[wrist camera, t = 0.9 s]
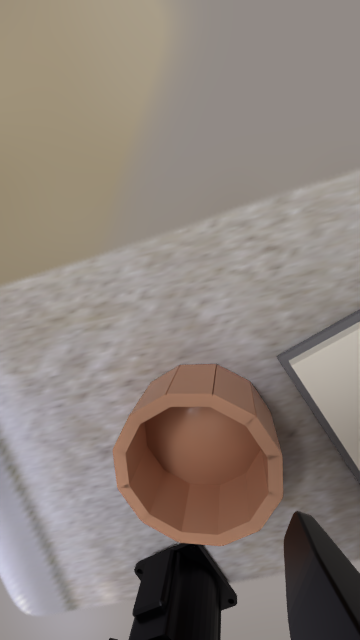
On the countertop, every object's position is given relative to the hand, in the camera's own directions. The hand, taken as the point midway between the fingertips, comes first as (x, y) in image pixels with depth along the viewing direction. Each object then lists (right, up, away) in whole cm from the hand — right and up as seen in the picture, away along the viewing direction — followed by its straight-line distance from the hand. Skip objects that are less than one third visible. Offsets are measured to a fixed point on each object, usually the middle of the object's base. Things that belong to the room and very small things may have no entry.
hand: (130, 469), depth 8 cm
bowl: (+3, -4, +14) cm, 15 cm away
